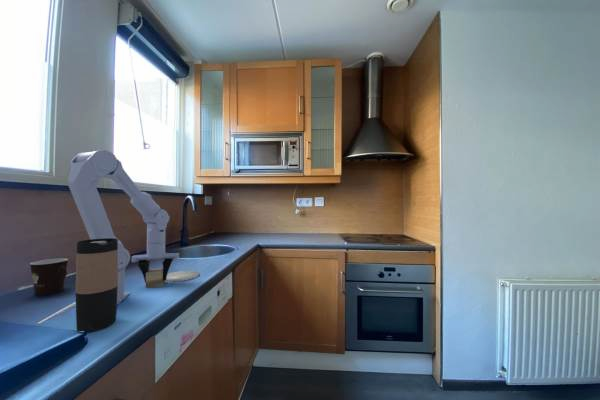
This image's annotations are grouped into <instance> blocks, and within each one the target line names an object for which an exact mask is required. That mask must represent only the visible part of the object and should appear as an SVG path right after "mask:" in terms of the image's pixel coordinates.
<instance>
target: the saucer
mask: <svg viewBox="0 0 600 400" xmlns="http://www.w3.org/2000/svg"><path fill="white" fill-rule="evenodd" d="M198 275H200V272H199V271H197V270H192V269H191V270H180V271H174V272H170V273H167V278H166V280H165V281H167V282H185V281H184V280H186V281H190V280H193V279H192V278H194V279H196V278H198V277H199V276H198ZM197 276H198V277H197ZM195 277H196V278H195ZM189 279H190V280H189Z"/></svg>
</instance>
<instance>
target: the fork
mask: <svg viewBox="0 0 600 400" xmlns="http://www.w3.org/2000/svg"><path fill="white" fill-rule="evenodd" d="M73 307H76V301H74V302H73V303H70V304H69V305H67V306H65V307H64V308H62V309H60V310H58V311H57V312H54V313H52V314H51V315H49V316H47V317H45V318H44V319H43V320H40V321H39V322H36V324H38V325H39V324H41V323H44V322H46V321H47V320H50V319H52V318H54V317H56V316H58V315H60V314H62V313H65V312H66V311H68V310H70V309H72V308H73Z"/></svg>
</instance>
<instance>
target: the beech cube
mask: <svg viewBox="0 0 600 400" xmlns="http://www.w3.org/2000/svg"><path fill="white" fill-rule="evenodd" d="M165 283H166V280H165V281H163V267H161V268H153V269H152V268H151V269H150V268H149V271H148V272H146V282H145V288H156V287H157V288H158V287H159V288H160V287H163V286H164V285H165Z"/></svg>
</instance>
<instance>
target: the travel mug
mask: <svg viewBox="0 0 600 400" xmlns="http://www.w3.org/2000/svg"><path fill="white" fill-rule="evenodd" d="M118 240H119V239H118V238H117V239H115V238H104V239H91V240H90V239H85V240H80V241H77V242H76V259H75V260H76V262H75V263H76V266H75V302H76V306H75V320H76V321H75V322H76V331H77V332H78V331H84V332H86V333H85V334H87V333H95V332H98V331H100V330H102V331H103V330H104V329H107V328H109V327H111V326H112V325H113V324H115V323H116V319H117V309H118V308H117V307H118V305H117V290H118Z"/></svg>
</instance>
